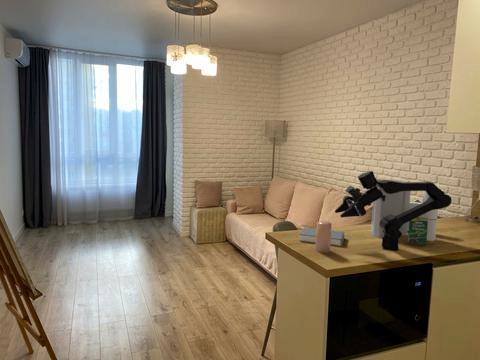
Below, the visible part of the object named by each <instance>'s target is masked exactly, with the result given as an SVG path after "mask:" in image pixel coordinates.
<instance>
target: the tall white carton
mask: <svg viewBox="0 0 480 360" xmlns="http://www.w3.org/2000/svg"><path fill="white" fill-rule="evenodd" d="M376 180H377V181H382V180H386V178H385V179H382V178H376ZM390 180H391V181H396V182H409V181H406V180H398V179H396V180H395V179H390ZM377 188H378V189H380V188H379V187H378V186H377ZM381 192H382V191H381ZM411 192H412V191H401V192H398V193H394V194H387V193H385V192H382V193H383V195H385V196H386V198H385V201H382V200H380V199H378V200H376V201H374V202H372V211H371V213H372V214H371V225H370V227H371V228H370V232H371V234H372V235H371V236H373V237H376V238H377V239H382V238H383V237H384V234H385V233H383V231H382V229H381V228H380V226H379V223H380V220H382V219H383V217H386V216H387V215H389V214H392V215H394V216H397V215H399V214H401V213H403V212H405V211H407V210H409V203H410V202H411ZM407 225H408V222H407V223H405V224H403V225H402V227H401V228H400V229H399V231H400V232H401V233H402V236H403V237H404V236H407V235H408V233H407V232H408V231H407ZM402 236H401V237H402Z"/></svg>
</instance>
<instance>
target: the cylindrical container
mask: <svg viewBox="0 0 480 360" xmlns="http://www.w3.org/2000/svg"><path fill="white" fill-rule="evenodd" d="M422 193H423V195H422V196H423V197H422V203H424V202H425V201H426V200H427V199H428V198H429V197H430V196H429V195H428V194H427V192H426V191H423V192H422ZM438 215H439V209H435V210H431V211H429V212H427V213H425V214H423V215H421V218H428V228H427V242H433V241H436V234H437V233H436V232H437V224H438Z"/></svg>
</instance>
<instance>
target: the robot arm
mask: <svg viewBox="0 0 480 360" xmlns="http://www.w3.org/2000/svg"><path fill="white" fill-rule="evenodd" d="M357 179H358V181H359V182H360V184H361V185H360V186H362V189H365V190H366V191H364V192H363V191H361V189H360V188H359V187H354V186H352V185H349V186H348V187H347V188H346V189H345V192H346V193H348V194H349V195H347V194H346V195H344V196H343V199H342V203H341V204H340V205H339V206H338V207H337V208H336V209H335V210H334V212H335V214H338V213H341V214H340V218H341V219H342V218H349V217H350V218H351V217H360V216H361V217H364V216H366V214H367V210H366V209H365V207H367V206H372V204H373V202H374V201H376V200H378V199H380V200H382V201H385V198H386V196H385V195H383V193H382V192H385V193H387V194H394V193H398V192H401V191H411V192H424V191H426V192H427V194H428V195H429V196H430V197H429V198H428V199H427V200H426V201H425V202H424V203H423V202H421V203H422V204H420V205H417V206H415V207H413V208H411V209H409V210H407V211H405V212H403V213H401V214H399V215H397V216H394V215H392V214H389V215H387V216H386V217H383V219H382V220H380V223H379V226H380V228H381V229H382V231H383V233H385V234H384V237H383V238H381V240H382V241H381V247H382V250H389V251H396V252H398V251H399V241H400V239H401V238H402V233H401V232H400V231H399V229H400V228H401V227H402V225H403V224H405V223H407V222H409V221H411V220H413V219H415V218H417V217H419V216H421V215H423V214H425V213H427V212H429V211H431V210H435V209H438V210H441V209H445V208H448V207H449V206H451V204H452V202H453V201H452V196H450V195H449V194H447V193H446V192H444V191H443V190H442V189H440V188H439V187H438V186H437V185H436V184H435V183H433V182H432V181H423V182H422V181H414V182H413V181H408V182H396V181H391V180H392V179H385V180H382V181H377V180H376V179H377V178H376V176H375V173H374V172H373V171H372V170H370V171H366V172H364V173H361V174H359V175H358V176H357ZM377 186H378V187H379V188H380V189H378V188H377ZM381 191H382V192H381Z"/></svg>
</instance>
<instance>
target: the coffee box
mask: <svg viewBox="0 0 480 360" xmlns="http://www.w3.org/2000/svg"><path fill="white" fill-rule="evenodd" d="M427 228H428V218H421V217H417V218H415V219H413V220H411V221H409V231H408V233H407V235H408V236H407V243H408V244H409V245H418V246H419V245H420V246H425V247H426V246H427V242H428V241H427Z"/></svg>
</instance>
